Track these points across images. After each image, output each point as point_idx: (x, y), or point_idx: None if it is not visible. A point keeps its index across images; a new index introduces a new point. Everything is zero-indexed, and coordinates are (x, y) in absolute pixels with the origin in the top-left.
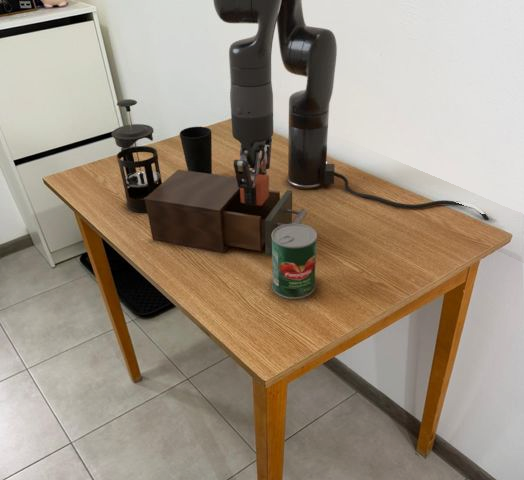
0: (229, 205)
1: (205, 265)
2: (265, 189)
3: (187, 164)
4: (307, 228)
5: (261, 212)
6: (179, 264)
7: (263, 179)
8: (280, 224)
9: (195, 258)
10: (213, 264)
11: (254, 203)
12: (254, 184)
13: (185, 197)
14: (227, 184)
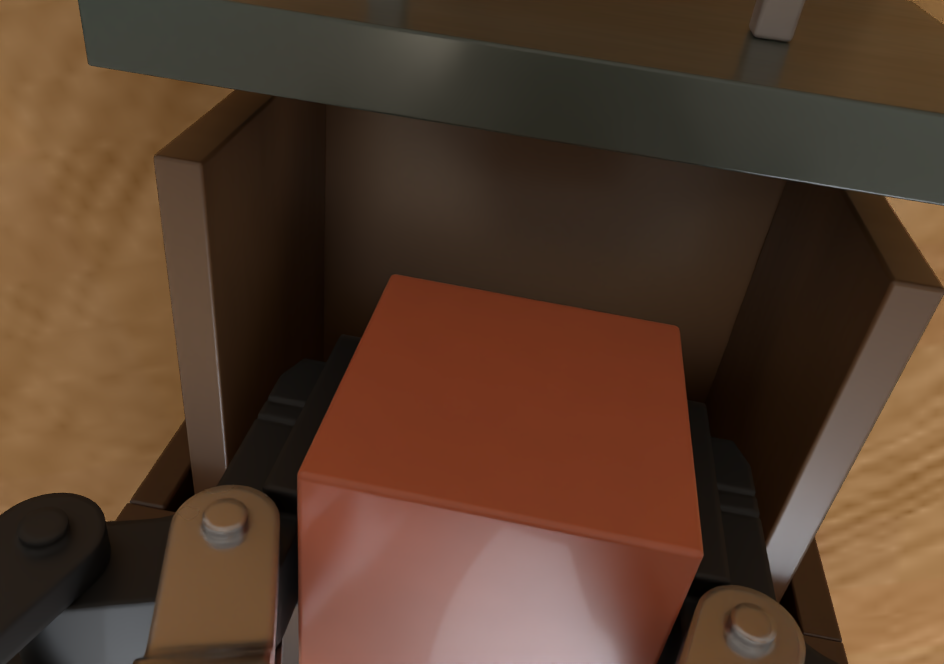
0: None
1: (929, 447)
2: (502, 390)
3: None
4: None
5: (307, 239)
6: (901, 569)
7: (488, 533)
8: None
9: (833, 508)
10: (921, 407)
11: (705, 420)
12: (761, 647)
13: None
14: (293, 657)
